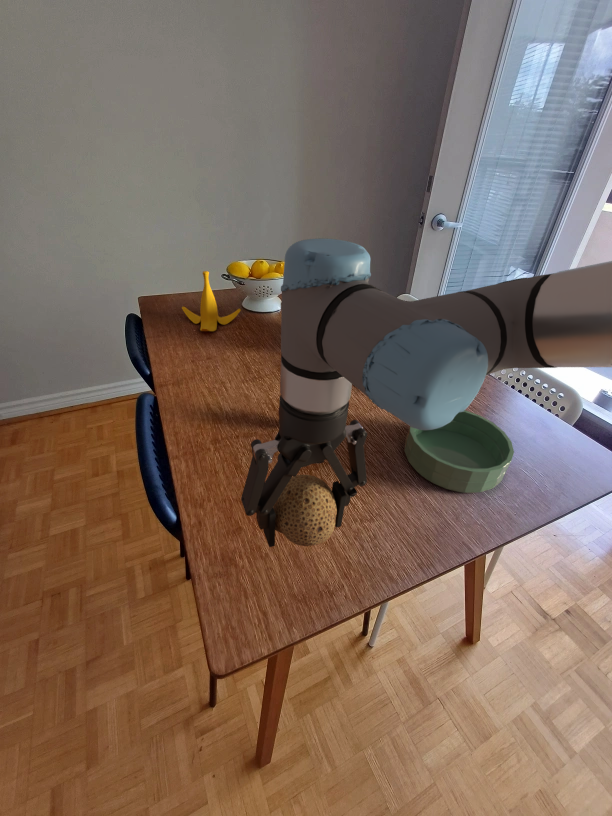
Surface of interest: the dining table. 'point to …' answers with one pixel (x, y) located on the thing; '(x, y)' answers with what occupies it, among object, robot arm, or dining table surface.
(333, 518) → the natural sponge
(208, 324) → the banana peel
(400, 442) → the dining table surface
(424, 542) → the dining table surface
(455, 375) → the robot arm
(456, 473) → the green bowl
